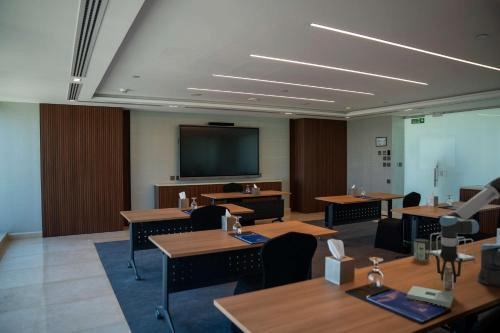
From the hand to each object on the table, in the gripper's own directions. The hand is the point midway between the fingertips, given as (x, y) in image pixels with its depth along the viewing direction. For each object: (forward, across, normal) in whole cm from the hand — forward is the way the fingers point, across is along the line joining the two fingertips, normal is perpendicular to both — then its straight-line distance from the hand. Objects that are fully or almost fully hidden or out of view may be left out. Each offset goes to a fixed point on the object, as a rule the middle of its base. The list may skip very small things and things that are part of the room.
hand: (448, 287), depth 194 cm
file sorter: (+4, +8, -86) cm, 86 cm away
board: (+4, +7, +12) cm, 15 cm away
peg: (+4, 0, 0) cm, 4 cm away
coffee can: (+4, +25, -65) cm, 70 cm away
